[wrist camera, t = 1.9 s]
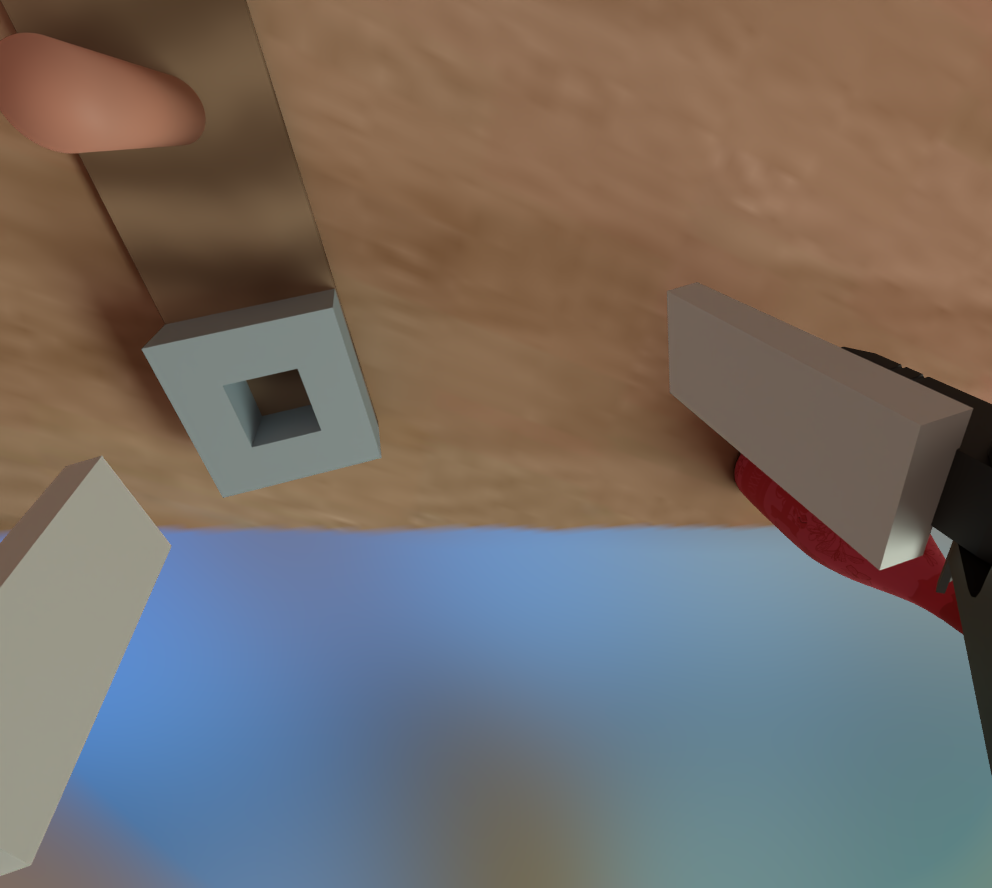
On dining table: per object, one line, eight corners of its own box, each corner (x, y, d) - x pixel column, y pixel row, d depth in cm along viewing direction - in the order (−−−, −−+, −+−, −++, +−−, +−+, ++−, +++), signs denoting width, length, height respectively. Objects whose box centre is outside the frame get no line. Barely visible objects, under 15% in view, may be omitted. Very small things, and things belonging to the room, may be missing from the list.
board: (8, -1, 28) (-2, -5, 27) (236, -32, 30) (232, -36, 29) (237, 456, 44) (235, 462, 43) (378, 422, 46) (378, 427, 45)
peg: (124, 79, 30) (-39, 41, 18) (189, 69, 31) (75, 24, 18) (155, 150, 32) (28, 161, 20) (215, 139, 32) (129, 144, 20)
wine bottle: (741, 422, 55) (1064, 662, 30) (820, 415, 58) (1182, 635, 32) (718, 498, 60) (979, 758, 35) (791, 489, 62) (1086, 729, 37)
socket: (165, 324, 37) (141, 348, 33) (334, 288, 38) (332, 307, 34) (235, 462, 43) (222, 497, 39) (378, 427, 45) (381, 457, 41)
